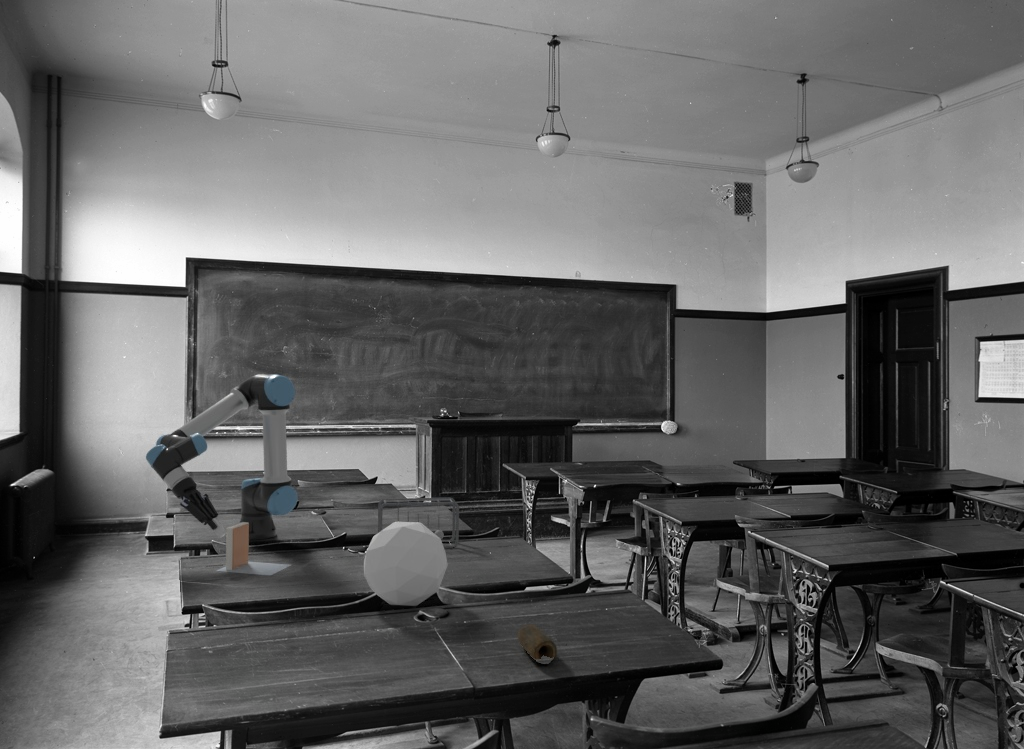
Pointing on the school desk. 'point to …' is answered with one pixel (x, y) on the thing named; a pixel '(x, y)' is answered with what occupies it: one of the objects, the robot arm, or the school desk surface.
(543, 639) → the brown hollow tube
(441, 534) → the newton's cradle
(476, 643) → the school desk surface
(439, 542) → the geometric polyhedron
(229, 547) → the tile
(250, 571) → the mat
